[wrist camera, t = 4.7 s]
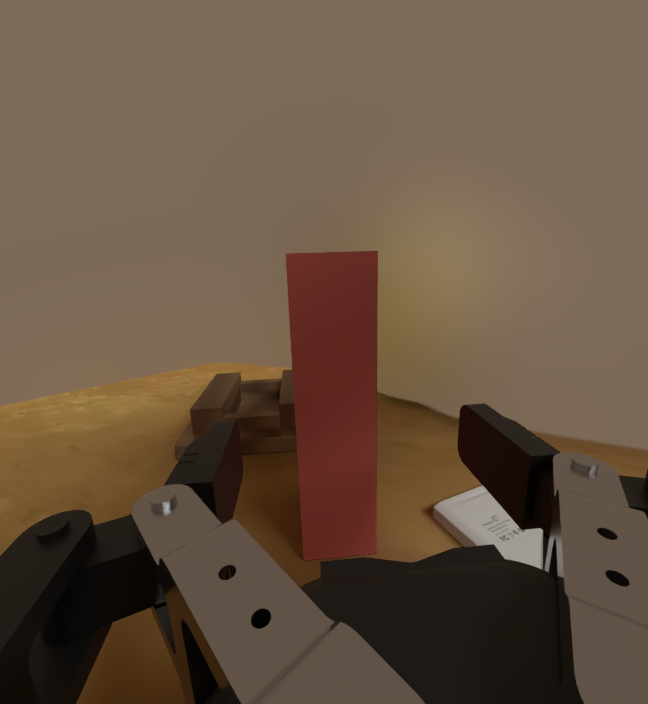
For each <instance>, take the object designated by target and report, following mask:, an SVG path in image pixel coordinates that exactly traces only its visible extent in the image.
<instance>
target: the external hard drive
mask: <svg viewBox="0 0 648 704" xmlns="http://www.w3.org/2000/svg"><path fill="white" fill-rule="evenodd" d="M433 519H435V520H436V521H437V522H438V523H439V524H440V525H441V526H442V527H443V528H444V529H446V530H447V531H448V532H449V533H450V534H451V535H452V536H453V537H454V538H455V539H456V540H457V541H459V542H460V543H461V544H462V545H463V546H464V547H471V546H481V545H491V544H494V545H495V546H496V548H497V549H498V550H499V552H500V553H501V555H502V556H503V557H504V559H508V560H513V561H518V562H522V563H525V564H529V565H532V566H535V567H537V568H540V569H541V538H542V531H543V530H542V529H541V528H537V529H527V530H521V529H520V528H519V526H518V525H517V524H516V523H515V522H514V521H513V519H512V518H511V517H510V516H509V515H508V514H507V513H506V511H505V510H504V509H503V508H502V507H501V506H500V505H499V503H498V502H497V501H496V500H495V499H494V498H493V497H492V495H491V494H490V493H489V492H488V491H487V490H486V488H485V487H484V486H483V485H482V486H480V487H477V488H474V489H472V490H469V491H467V492H464V493H462V494H459V495H457V496H454V497H451V498H448V499H446V500H443V501H441V502H439V503H438V504H436V505H435V506H434V507H433Z"/></svg>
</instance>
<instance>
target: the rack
mask: <svg viewBox="0 0 648 704" xmlns="http://www.w3.org/2000/svg"><path fill="white" fill-rule="evenodd" d="M190 414H191V421H192V422H191V423H190V424H189V426H188V427H187V429H186V430H185V432H184V433H183V435H182V436H181V438H180V439H179V441H178V442H177V444H176V445H175V453H176V459H180V458H181V456H183V453H184V451H185V449H186V448H187V446H188V445H189V444H190V443H192V442H193V441H194V440H196V439H197V438H198V437H205V436H208V434H209V432H210V430H211V428H212V426H213V424H214V423H215V422H218V421H233V420H237V421H238V424H239V431H240V441H241V450H242V454H256V453H269V452H283V451H297V439H296V422H295V405H294V388H293V371H292V370H283V374H282V379H269V380H251V381H241V375H240V373H226V374H216V376H215V377H214V378H213V380H212V381H211V382H210V384H209V385H208V386H207V388H206V389H205V390H204V392H203V393H202V394H201V396H200V397H199V398H198V400H197V401H196V402H195V404H194V405H193V406H192V408H191V409H190Z"/></svg>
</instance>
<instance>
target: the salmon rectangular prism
mask: <svg viewBox="0 0 648 704" xmlns="http://www.w3.org/2000/svg"><path fill="white" fill-rule="evenodd" d="M377 260H378V251H360V252H326V253H294V254H286V266H287V285H288V302H289V319H290V336H291V353H292V371H293V388H294V405H295V422H296V439H297V457H298V474H299V491H300V508H301V525H302V543H303V560H304V561H305V560H315V559H326V558H336V557H346V556H356V555H367V554H376V489H377V281H378V280H377V279H378V277H377V276H378V270H377V269H378V261H377Z"/></svg>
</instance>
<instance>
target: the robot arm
mask: <svg viewBox="0 0 648 704" xmlns="http://www.w3.org/2000/svg"><path fill="white" fill-rule="evenodd" d="M458 452H459V456H460V458H461V460H462V462H463V463H464V464H465V466H466V467H467V468H468V469H469V470H470V471H471V472H472V474H473V475H474V476H475V477H476V478H477V479H478V480H479V482H480V483H481V484H482V485H483V486H484V487H485V488H486V490H487V491H488V492H489V493H490V494H491V495H492V497H493V498H494V499H495V500H496V501H497V502H498V503H499V505H500V506H501V507H502V508H503V509H504V510H505V511H506V513H507V514H508V515H509V516H510V517H511V518H512V519H513V521H514V522H515V523H516V524H517V525H518V526H519V528H520V529H521V530H527V529H537V528H541V529H542V530H543V531H542V538H541V569H540V568H537V567H535V566H532V565H529V564H525V563H522V562H518V561H513V560H508V559H504V557H503V556H502V555H501V553H500V552H499V550H498V549H497V548H496V546H495V545H494V544H491V545H481V546H471V547H461V548H452V549H450V550H447V551H444V552H442V553H439V554H436V555H433V556H431V557H428V558H425V559H423V560H420V561H417V562H412V563H409V562H400V561H391V560H383V559H374V558H365V557H363V558H353V559H344V560H334V561H324V562H320V564H321V578H319V579H316V580H314V581H312V582H310V583H308V584H306V585H304V586H302V587H301V588H299V586H298V585H297V584H296V583H295V582H294V581H293V580H292V579H291V578H290V577H289V576H288V575H287V574H286V573H285V571H284V570H283V569H282V568H281V567H280V566H279V565H278V564H277V563H276V562H275V561H274V560H273V559H272V558H271V557H270V555H269V554H268V553H267V552H266V551H265V550H264V549H263V548H262V547H261V546H260V545H259V544H258V543H257V542H256V540H255V539H254V538H253V537H252V536H251V535H250V534H249V533H248V532H247V531H246V530H245V529H244V528H243V527H242V525H241V524H240V523H239V522H238V521H237V520H235V519H232V518H233V514H234V510H235V506H236V502H237V498H238V494H239V490H240V486H241V482H242V475H243V460H242V450H241V441H240V431H239V424H238V421H237V420H233V421H218V422H215V423H214V424H213V426H212V428H211V430H210V432H209V434H208V436H205V437H198V438H197V439H196V440H194V441H193V442H192V443H190V444H189V445H188V446H187V448H186V449H185V451H184V453H183V456H181V458H180V459H179V461H178V464H176V466H175V468H174V469H173V471H172V473H171V474H170V476H169V478H168V479H167V481H166V483H165V485H164V486H163V487H159V488H157V489H154V490H152V491H150V492H148V493H147V494H145V495H144V496H142V497H141V498H140V499H139V500H138V501H137V502H136V503H135V504H134V506H133V508H132V513H131V514H130V515H128V516H125V517H122V518H119V519H115V520H112V521H108V522H105V523H101V524H98V525H93V520H92V517H91V514H90V513H88V512H86V511H83V510H71V511H66V512H62V513H58V514H55V515H53V516H50V517H48V518H46V519H43V520H41V521H39V522H38V523H36V524H34V525H33V526H31V527H30V528H28V529H27V530H26V531H24V532H23V533H22V534H21V535H20V536H19V537H18V538H17V539H16V540H15V541H14V542H13V543H12V544H11V545H10V546H9V547H8V549H7V550H6V551H5V552H4V553H3V554H2V555H1V556H0V704H76V703H77V700H78V698H79V696H80V694H81V691H82V689H83V687H84V685H85V683H86V680H87V678H88V676H89V674H90V672H91V669H92V667H93V665H94V663H95V660H96V658H97V656H98V654H99V652H100V649H101V647H102V645H103V643H104V641H105V638H106V636H107V634H108V632H109V630H110V627H111V625H112V622H115V621H117V620H120V619H122V618H125V617H127V616H130V615H132V614H135V613H137V612H140V611H143V610H145V609H148V608H150V607H151V611H152V613H153V615H154V618H155V620H156V623H157V625H158V627H159V630H160V632H161V634H162V637H163V639H164V641H165V644H166V646H167V649H168V651H169V653H170V656H171V658H172V660H173V663H174V665H175V667H176V670H177V673H178V675H179V678H180V681H181V685H182V688H183V692H184V695H185V699H186V702H187V704H648V469H647V474H646V478H638V477H628V476H619V475H618V473H617V471H616V470H615V469H614V468H613V467H612V466H610V465H609V464H607V463H605V462H604V461H601V460H599V459H597V458H594V457H591V456H588V455H584V454H579V453H572V452H564V453H561V452H559V451H558V450H556V449H555V448H553V447H552V446H550V445H549V444H548V443H546V442H545V441H543V440H542V439H540V438H539V437H536V435H535V434H533V433H532V432H530V431H527V429H526V428H524V427H523V426H521V425H520V424H519V423H517V422H515V421H513V420H511V419H508V418H505V417H503V416H502V415H500V414H499V413H497V412H496V411H495V410H493V409H492V408H490V407H489V406H487V405H486V404H472V405H463V406H462V408H461V409H460V418H459V433H458Z"/></svg>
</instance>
